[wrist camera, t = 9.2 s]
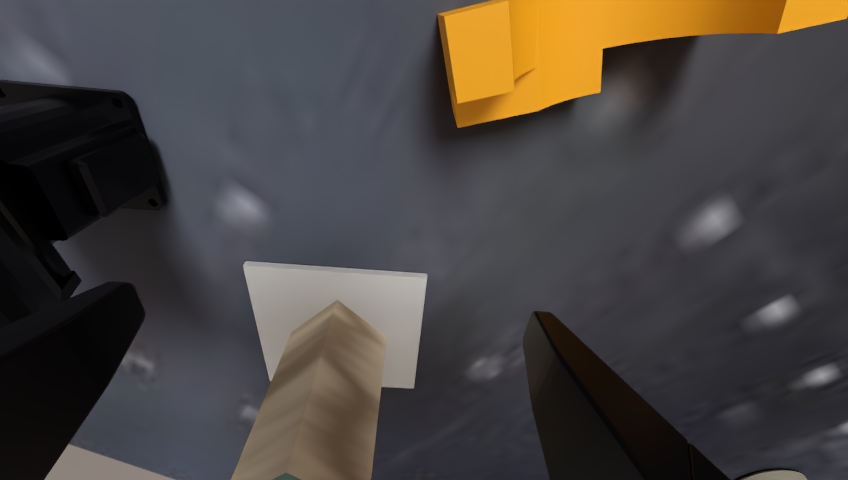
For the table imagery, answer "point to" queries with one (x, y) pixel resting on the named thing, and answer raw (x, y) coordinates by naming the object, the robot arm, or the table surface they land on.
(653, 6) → the pipe clamp
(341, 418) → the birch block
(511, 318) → the table surface
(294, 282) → the grey pad
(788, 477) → the travel mug
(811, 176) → the table surface
